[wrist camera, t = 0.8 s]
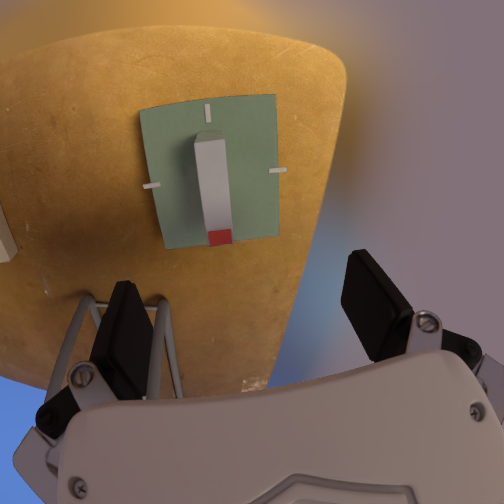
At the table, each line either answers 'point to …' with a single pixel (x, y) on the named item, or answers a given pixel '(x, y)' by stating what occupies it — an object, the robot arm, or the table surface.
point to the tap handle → (214, 187)
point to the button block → (6, 240)
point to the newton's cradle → (160, 329)
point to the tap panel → (238, 164)
